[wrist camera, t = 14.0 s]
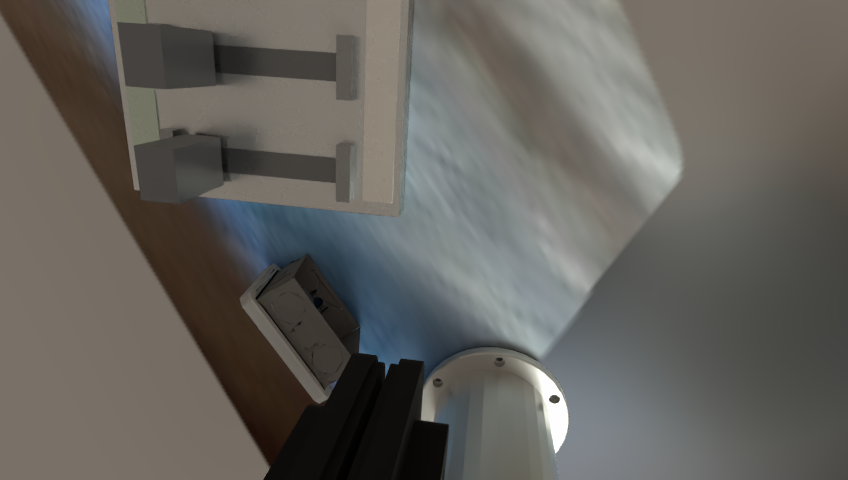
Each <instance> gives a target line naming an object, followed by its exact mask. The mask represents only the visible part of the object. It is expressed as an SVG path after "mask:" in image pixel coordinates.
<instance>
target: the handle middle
mask: <svg viewBox="0 0 848 480" xmlns="http://www.w3.org/2000/svg"><path fill="white" fill-rule="evenodd" d="M117 25H118V33H119V40H120V48H121V55H122V63H123V70H124V77H125V85H126V86H129V87H142V88H154V89H180V88H194V87H208V86H216V76H215V62H214V49H213V36H212V31H207V30H199V29H191V28H182V27H174V26H166V25H156V24H140V23H124V22H117Z"/></svg>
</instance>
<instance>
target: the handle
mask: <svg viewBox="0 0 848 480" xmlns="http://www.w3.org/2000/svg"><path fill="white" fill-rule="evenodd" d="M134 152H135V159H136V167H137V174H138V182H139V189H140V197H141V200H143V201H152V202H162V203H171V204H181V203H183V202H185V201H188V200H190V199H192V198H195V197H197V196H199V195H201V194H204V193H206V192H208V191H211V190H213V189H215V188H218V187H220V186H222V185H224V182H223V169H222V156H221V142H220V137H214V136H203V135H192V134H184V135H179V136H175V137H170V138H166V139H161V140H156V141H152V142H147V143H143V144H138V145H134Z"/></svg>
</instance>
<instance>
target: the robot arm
mask: <svg viewBox="0 0 848 480" xmlns="http://www.w3.org/2000/svg"><path fill="white" fill-rule="evenodd" d="M423 381H424V361H416V360H409V359H400V362H399V364H391V365H390V367H389V370H388V372H387V375H386V378H385V363H383V362H378V358H377V355H370V354H362V353H353V354H352V355H351V357H350V359H349V361H348V363H347V364H346V366H345V368H344V370H343V372H342V374H341V376H340V377H339V379H338V381H337V383H336V385H335V387H334V389H333V390H332V392H331V394H330V396H329V398H328V400H327V402H326V403H325V405H324V406H318V405H312V404H310V405H308V406H307V407H306V409H305V410H304V412H303V413H302V415H301V417H300V419H299V420H298V422H297V424H296V425H295V427H294V429H293V430H292V432H291V434H290V435H289V437H288V439H287V441H286V442H285V444H284V446H283V447H282V449H281V451H280V452H279V454H278V456H277V457H276V459H275V461H274V463H273V464H272V466H271V468H270V469H269V471H268V473H267V474H266V476H265V478H264V480H559V476H558V469H557V462H556V455H555V454H556V452H557V451H558V450H559V449H560V447H561V445H562V444H563V442H564V440H565V438H566V434H567V431H568V426H569V413H568V405H567V401H566V398H565V394H564V391H563V390H562V388H561V386H560V384H559V382H558V381H557V379H555V377H554V376H553V375H552V374H551V372H550V371H549V370H548V369H547V368H545V367H544V366H543V365H542V364H540V363H539V362H538V361H536V360H534V359H532V358H530V357H529V356H527V355H525V354H522V353H519V352H516V351H513V350H509V349H504V348H498V347H480V348H474V349H468V350H465V351H462V352H459V353H456V354H454V355H452V356H450V357H449V358H447V359H445V360H443V361H442V362H441V363H440V364H439V365H438V366H436V367H435V368H434V369H433V370H432V372H431V373H430V374H429V376H428V377H427V378H426V380H425V383H424V385H423Z"/></svg>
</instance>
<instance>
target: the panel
mask: <svg viewBox="0 0 848 480" xmlns="http://www.w3.org/2000/svg"><path fill="white" fill-rule="evenodd" d="M108 3H109V10H110V17H111V24H112V32H113V39H114V46H115V53H116V61H117V68H118V75H119V82H120V90H121V97H122V104H123V111H124V119H125V126H126V133H127V141H128V148H129V155H130V162H131V170H132V177H133V184H134V190H140V189H139V182H138V174H137V167H136V159H135V152H134V145H138V144H143V143H147V142H152V141H156V140H161V139H166V138H170V137H175V136H179V135H184V134H192V135H203V136H214V137H220V142H221V156H222V169H223V182H224V185H222V186H220V187H218V188H215V189H213V190H211V191H208V192H206V193H204V194H201V195H199V197H209V198H218V199H228V200H238V201H247V202H257V203H267V204H276V205H286V206H295V207H305V208H315V209H324V210H334V211H344V212H353V213H363V214H373V215H382V216H392V217H399V216H400V214H401V213H402V211H403V209H404V190H405V170H406V151H407V131H408V112H409V92H410V73H411V54H412V34H413V15H414V0H108ZM117 22H124V23H140V24H156V25H166V26H174V27H182V28H191V29H199V30H207V31H212V36H213V49H214V62H215V76H216V86H208V87H194V88H180V89H154V88H142V87H129V86H126V85H125V77H124V70H123V63H122V55H121V48H120V40H119V33H118V25H117Z"/></svg>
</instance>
